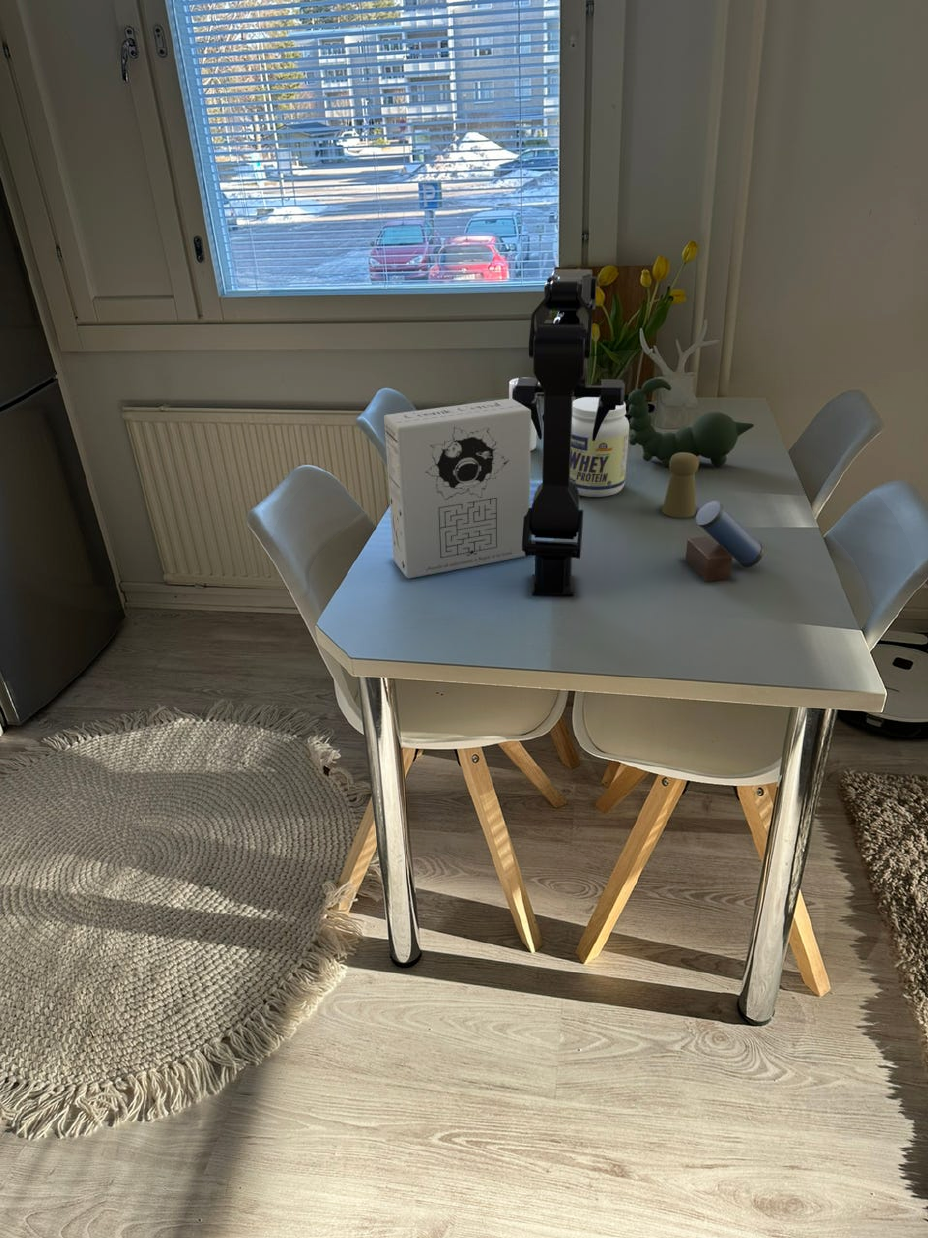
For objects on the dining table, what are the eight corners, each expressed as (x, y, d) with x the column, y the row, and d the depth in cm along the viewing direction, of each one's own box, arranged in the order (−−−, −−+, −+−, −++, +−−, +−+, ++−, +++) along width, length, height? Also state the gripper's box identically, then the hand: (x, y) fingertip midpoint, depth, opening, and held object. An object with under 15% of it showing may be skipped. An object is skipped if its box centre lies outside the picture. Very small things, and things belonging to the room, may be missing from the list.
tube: (698, 578, 139) (705, 509, 133) (686, 565, 143) (693, 498, 137) (766, 569, 141) (776, 501, 135) (753, 557, 145) (762, 491, 139)
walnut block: (705, 582, 138) (708, 559, 136) (685, 560, 144) (687, 538, 142) (729, 579, 138) (732, 556, 136) (707, 558, 145) (710, 535, 143)
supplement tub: (556, 495, 171) (559, 410, 162) (570, 474, 181) (573, 392, 172) (618, 502, 167) (624, 414, 159) (629, 480, 177) (635, 397, 169)
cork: (658, 514, 161) (663, 457, 156) (667, 503, 166) (673, 447, 161) (690, 519, 159) (697, 461, 153) (699, 508, 164) (706, 451, 158)
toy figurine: (628, 476, 184) (753, 471, 178) (626, 386, 175) (758, 378, 169) (630, 461, 192) (750, 456, 186) (628, 374, 183) (754, 366, 177)
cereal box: (511, 539, 153) (512, 397, 141) (529, 556, 147) (531, 409, 135) (393, 561, 147) (383, 414, 134) (407, 579, 141) (397, 427, 128)
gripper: (627, 337, 150) (621, 424, 158) (519, 335, 153) (519, 421, 161) (627, 355, 141) (620, 447, 149) (511, 354, 144) (511, 444, 152)
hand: (567, 439), depth 153 cm, fingers open, 9 cm apart
